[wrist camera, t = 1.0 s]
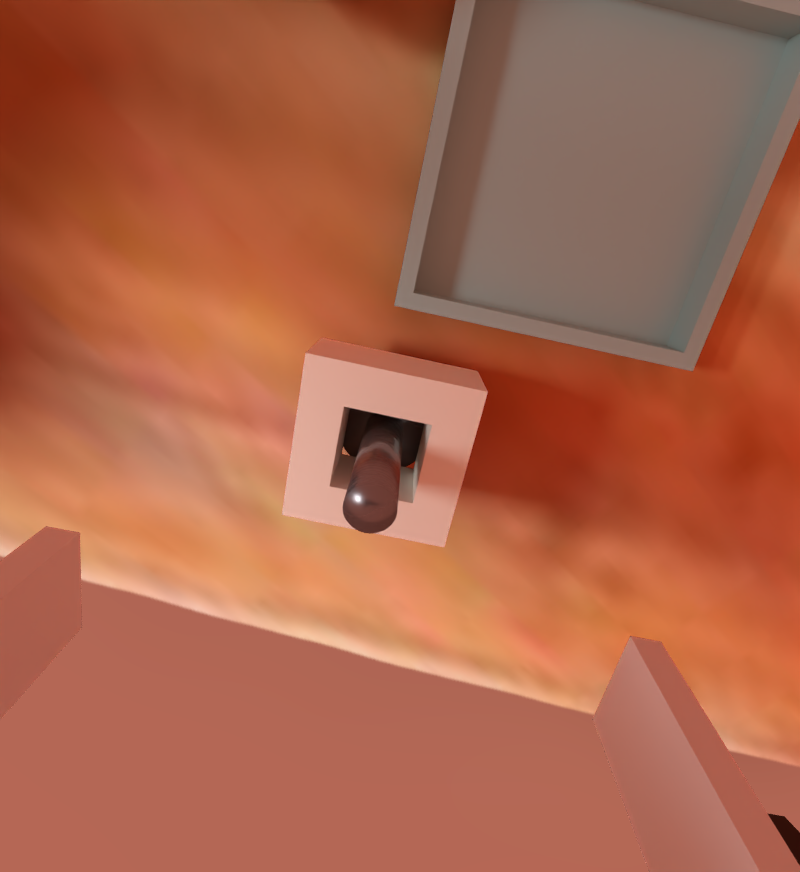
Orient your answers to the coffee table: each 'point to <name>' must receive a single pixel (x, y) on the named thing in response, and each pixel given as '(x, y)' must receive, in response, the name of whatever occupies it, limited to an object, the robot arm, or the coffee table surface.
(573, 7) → the tray
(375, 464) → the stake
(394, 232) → the coffee table surface
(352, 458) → the ring
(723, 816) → the robot arm
